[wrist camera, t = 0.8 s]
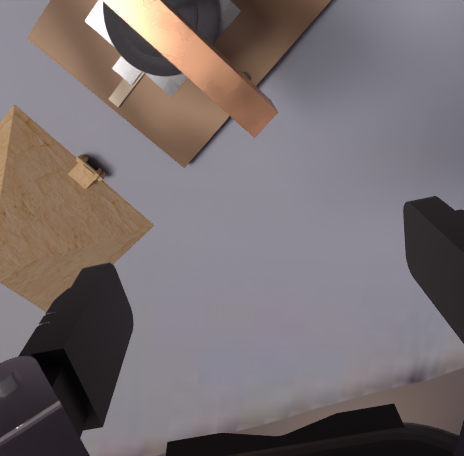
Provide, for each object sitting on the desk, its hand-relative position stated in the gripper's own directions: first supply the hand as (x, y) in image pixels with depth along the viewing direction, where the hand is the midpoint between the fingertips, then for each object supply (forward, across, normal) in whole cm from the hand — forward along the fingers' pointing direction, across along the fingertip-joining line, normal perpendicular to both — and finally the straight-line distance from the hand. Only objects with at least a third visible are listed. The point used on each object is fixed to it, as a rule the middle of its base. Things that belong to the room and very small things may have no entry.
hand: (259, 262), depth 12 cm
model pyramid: (+29, +21, +7) cm, 36 cm away
